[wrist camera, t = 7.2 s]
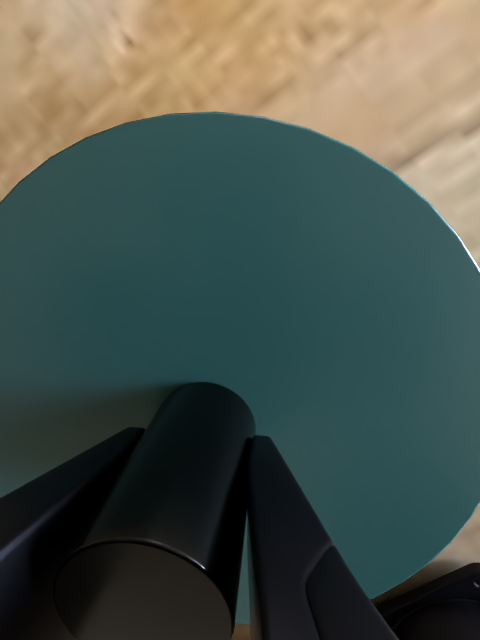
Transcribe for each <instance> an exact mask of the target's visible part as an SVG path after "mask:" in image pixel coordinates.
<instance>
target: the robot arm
mask: <svg viewBox="0 0 480 640" xmlns="http://www.w3.org/2000/svg"><path fill="white" fill-rule="evenodd" d="M144 431H145V429H144V428H140V427H128V428H126V429H124V430H122V431H120V432H118V433H117V434H115V435H113V436H111V437H109V438H108V439H106V440H104V441H102V442H100V443H99V444H97V445H95V446H93V447H91V448H90V449H88V450H86V451H84V452H82V453H81V454H79V455H77V456H75V457H73V458H72V459H70V460H68V461H66V462H64V463H63V464H61V465H59V466H57V467H55V468H54V469H52V470H50V471H48V472H46V473H45V474H43V475H41V476H39V477H37V478H36V479H34V480H32V481H30V482H28V483H27V484H25V485H23V486H21V487H19V488H18V489H16V490H14V491H12V492H10V493H9V494H7V495H5V496H3V497H1V498H0V640H76V638H75V637H74V636H73V635H72V634H71V633H70V632H69V630H68V629H67V628H66V626H65V625H64V624H63V622H62V620H61V618H60V616H59V614H58V612H57V609H56V606H55V602H54V594H53V588H54V580H55V576H56V573H57V570H58V568H59V566H60V565H61V563H62V561H63V560H64V558H65V556H66V555H67V553H68V552H69V550H70V548H71V547H72V545H73V544H74V542H75V541H76V539H77V537H78V536H79V534H80V533H81V531H82V529H83V528H84V526H85V525H86V523H87V521H88V520H89V518H90V517H91V515H92V514H93V512H94V510H95V509H96V507H97V506H98V504H99V502H100V501H101V499H102V498H103V496H104V495H105V493H106V491H107V490H108V488H109V487H110V485H111V483H112V482H113V480H114V479H115V477H116V475H117V474H118V472H119V471H120V469H121V468H122V466H123V464H124V463H125V461H126V460H127V458H128V456H129V455H130V453H131V452H132V450H133V449H134V447H135V445H136V444H137V442H138V441H139V439H140V437H141V436H142V434H143V433H144ZM247 498H248V506H247V558H248V584H249V611H250V637H251V640H480V563H471V564H468V565H466V566H464V567H462V568H459V569H457V570H455V571H453V572H451V573H449V574H447V575H445V576H442V577H440V578H438V579H436V580H434V581H432V582H430V583H427V584H425V585H423V586H421V587H419V588H417V589H415V590H413V591H410V592H408V593H406V594H404V595H402V596H400V597H398V598H396V599H393V600H391V601H389V602H387V603H385V604H383V605H381V606H378V607H376V608H375V606H374V605H373V603H372V602H371V601H370V599H369V598H368V596H367V595H366V594H365V592H364V591H363V589H362V588H361V586H360V584H359V583H358V581H357V580H356V578H355V577H354V575H353V574H352V572H351V570H350V569H349V567H348V566H347V564H346V562H345V561H344V559H343V557H342V556H341V554H340V552H339V551H338V549H337V547H336V546H334V543H333V541H332V539H331V538H330V536H329V534H328V533H327V531H326V529H325V527H324V526H323V524H322V522H321V521H320V519H319V517H318V516H317V514H316V512H315V511H314V509H313V507H312V506H311V504H310V502H309V501H308V499H307V497H306V496H305V494H304V492H303V491H302V489H301V487H300V486H299V484H298V482H297V481H296V479H295V477H294V476H293V474H292V472H291V470H290V469H289V467H288V465H287V464H286V462H285V460H284V459H283V457H282V455H281V454H280V452H279V450H278V449H277V447H276V445H275V444H274V442H273V440H272V439H271V437H270V436H264V435H254V436H253V437H252V442H251V448H250V454H249V461H248V474H247Z"/></svg>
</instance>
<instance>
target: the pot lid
mask: <svg viewBox="0 0 480 640" xmlns="http://www.w3.org/2000/svg"><path fill="white" fill-rule="evenodd" d="M128 427H140V428H144V429H145V431H144V433H143V434H142V436H141V437H140V439H139V441H138V442H137V444H136V445H135V447H134V449H133V450H132V452H131V453H130V455H129V456H128V458H127V460H126V461H125V463H124V464H123V466H122V468H121V469H120V471H119V472H118V474H117V475H116V477H115V479H114V480H113V482H112V483H111V485H110V487H109V488H108V490H107V491H106V493H105V495H104V496H103V498H102V499H101V501H100V502H99V504H98V506H97V507H96V509H95V510H94V512H93V514H92V515H91V517H90V518H89V520H88V521H87V523H86V525H85V526H84V528H83V529H82V531H81V533H80V534H79V536H78V537H77V539H76V541H75V542H74V544H73V545H72V547H71V548H70V550H69V552H68V553H67V555H66V556H65V558H64V560H63V561H62V563H61V565H60V566H59V568H58V570H57V573H56V576H55V580H54V588H53V594H54V602H55V606H56V609H57V612H58V614H59V616H60V618H61V620H62V622H63V624H64V625H65V626H66V628H67V629H68V630H69V632H70V633H71V634H72V635H73V636H74V637H75V638H76V640H231V638H232V635H233V633H234V626H235V624H250V611H249V584H248V558H247V506H248V498H247V474H248V461H249V454H250V448H251V442H252V437H253V436H254V435H264V436H270V437H271V439H272V440H273V442H274V444H275V445H276V447H277V449H278V450H279V452H280V454H281V455H282V457H283V459H284V460H285V462H286V464H287V465H288V467H289V469H290V470H291V472H292V474H293V476H294V477H295V479H296V481H297V482H298V484H299V486H300V487H301V489H302V491H303V492H304V494H305V496H306V497H307V499H308V501H309V502H310V504H311V506H312V507H313V509H314V511H315V512H316V514H317V516H318V517H319V519H320V521H321V522H322V524H323V526H324V527H325V529H326V531H327V533H328V534H329V536H330V538H331V539H332V541H333V543H334V546H336V547H337V549H338V551H339V552H340V554H341V556H342V557H343V559H344V561H345V562H346V564H347V566H348V567H349V569H350V570H351V572H352V574H353V575H354V577H355V578H356V580H357V581H358V583H359V584H360V586H361V588H362V589H363V591H364V592H365V594H366V595H367V596H368V598H369V599H372V598H375V597H377V596H379V595H380V594H382V593H384V592H386V591H388V590H390V589H391V588H393V587H395V586H397V585H399V584H400V583H402V582H404V581H405V580H406V579H408V578H409V577H411V576H412V575H413V574H415V573H416V572H417V571H419V570H420V569H422V568H423V567H424V566H426V565H427V564H428V563H429V562H430V561H432V560H433V559H434V558H435V557H436V556H437V555H438V554H439V553H440V552H441V551H442V550H443V549H444V548H445V547H446V546H448V545H449V544H450V543H451V541H452V540H453V539H454V538H455V537H456V535H457V534H458V533H459V532H460V530H461V529H462V528H463V527H464V525H465V524H466V523H467V522H468V521H469V519H470V518H471V516H472V515H473V513H474V511H475V510H476V508H477V506H478V505H479V503H480V269H479V267H478V265H477V264H476V262H475V261H474V259H473V257H472V256H471V254H470V253H469V251H468V250H467V248H466V246H465V245H464V243H463V242H462V240H461V239H460V237H459V235H458V234H457V233H456V232H455V231H454V230H453V229H452V227H451V226H450V225H449V224H448V223H447V222H446V221H445V219H444V218H443V217H442V216H441V215H440V214H439V213H438V211H437V210H436V209H435V208H434V207H433V206H432V205H431V203H430V202H429V201H428V200H426V199H425V198H424V197H423V196H422V195H420V194H419V193H418V192H417V191H416V190H415V189H413V188H412V187H411V186H410V185H409V184H407V183H406V182H405V181H404V180H403V179H401V178H400V177H399V176H398V175H397V174H395V173H394V172H393V171H391V170H390V169H388V168H386V167H385V166H383V165H382V164H380V163H378V162H377V161H375V160H373V159H372V158H370V157H368V156H367V155H365V154H364V153H362V152H360V151H359V150H357V149H355V148H354V147H352V146H349V145H347V144H345V143H342V142H340V141H338V140H335V139H333V138H330V137H328V136H326V135H323V134H321V133H319V132H316V131H314V130H312V129H309V128H306V127H302V126H298V125H294V124H290V123H286V122H282V121H278V120H274V119H271V118H267V117H263V116H253V115H244V114H234V113H224V112H197V113H175V114H166V115H161V116H156V117H151V118H146V119H141V120H136V121H131V122H127V123H124V124H121V125H118V126H116V127H113V128H110V129H107V130H105V131H102V132H99V133H97V134H94V135H91V136H89V137H86V138H84V139H82V140H81V141H79V142H77V143H75V144H73V145H72V146H70V147H68V148H66V149H65V150H63V151H61V152H59V153H57V154H56V155H54V156H52V157H50V158H49V159H48V160H46V161H45V162H44V163H43V164H41V165H40V166H39V167H38V168H36V169H35V170H34V171H32V172H31V173H30V174H29V175H27V176H26V177H25V178H24V179H22V180H21V181H20V182H19V183H18V184H17V185H16V186H15V187H14V188H13V189H12V190H11V192H10V193H9V194H8V195H7V196H6V197H5V198H4V199H3V200H2V201H1V202H0V498H1V497H3V496H5V495H7V494H9V493H10V492H12V491H14V490H16V489H18V488H19V487H21V486H23V485H25V484H27V483H28V482H30V481H32V480H34V479H36V478H37V477H39V476H41V475H43V474H45V473H46V472H48V471H50V470H52V469H54V468H55V467H57V466H59V465H61V464H63V463H64V462H66V461H68V460H70V459H72V458H73V457H75V456H77V455H79V454H81V453H82V452H84V451H86V450H88V449H90V448H91V447H93V446H95V445H97V444H99V443H100V442H102V441H104V440H106V439H108V438H109V437H111V436H113V435H115V434H117V433H118V432H120V431H122V430H124V429H126V428H128Z"/></svg>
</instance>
